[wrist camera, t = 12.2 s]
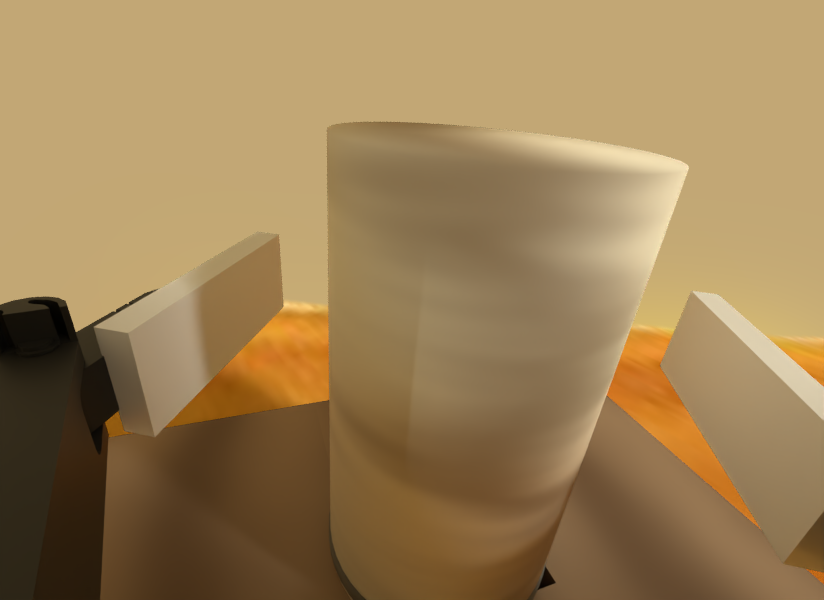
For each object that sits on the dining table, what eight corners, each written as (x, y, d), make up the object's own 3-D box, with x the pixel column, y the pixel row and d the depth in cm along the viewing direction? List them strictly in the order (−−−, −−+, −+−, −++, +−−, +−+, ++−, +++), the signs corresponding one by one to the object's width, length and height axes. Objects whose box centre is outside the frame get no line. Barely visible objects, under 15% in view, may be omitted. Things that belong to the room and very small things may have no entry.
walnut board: (555, 395, 25) (565, 360, 24) (839, 682, 13) (885, 639, 12) (110, 485, 17) (95, 439, 16) (-151, 1353, 6) (-277, 1410, 4)
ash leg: (470, 470, 19) (538, 130, 13) (571, 642, 13) (789, 178, 7) (314, 510, 17) (301, 115, 10) (355, 739, 11) (384, 170, 4)
